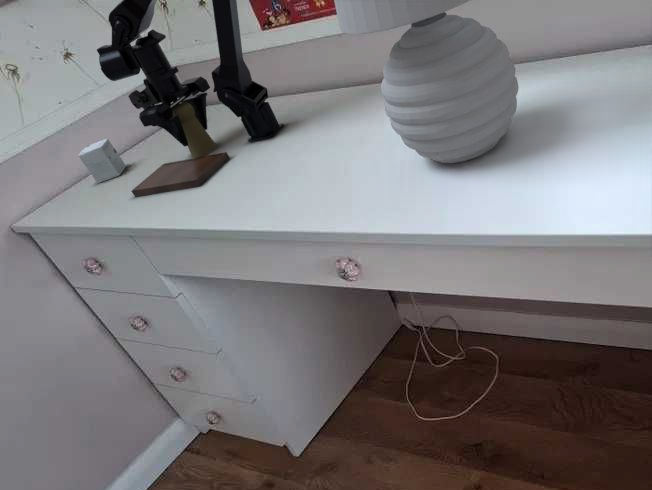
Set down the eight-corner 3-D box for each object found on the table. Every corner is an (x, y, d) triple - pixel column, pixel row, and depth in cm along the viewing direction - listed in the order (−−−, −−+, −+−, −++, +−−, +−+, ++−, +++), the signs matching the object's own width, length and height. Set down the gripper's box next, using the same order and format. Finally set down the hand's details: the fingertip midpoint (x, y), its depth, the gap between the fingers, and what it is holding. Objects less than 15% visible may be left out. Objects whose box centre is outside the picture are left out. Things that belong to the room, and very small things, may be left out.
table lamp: (366, 177, 111) (252, -95, 86) (463, 109, 122) (387, -149, 97) (471, 196, 94) (369, -133, 69) (572, 115, 105) (515, -193, 80)
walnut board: (230, 158, 140) (226, 151, 139) (200, 186, 132) (195, 179, 131) (167, 169, 147) (163, 163, 146) (135, 197, 138) (130, 190, 137)
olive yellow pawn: (208, 154, 146) (181, 107, 139) (187, 159, 148) (159, 113, 141) (221, 142, 150) (195, 96, 143) (200, 147, 152) (173, 102, 145)
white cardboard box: (120, 175, 154) (100, 146, 149) (96, 184, 154) (76, 155, 149) (126, 165, 158) (108, 137, 154) (104, 174, 159) (84, 146, 154)
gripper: (154, 59, 147) (191, 124, 156) (101, 93, 134) (145, 162, 144) (192, 49, 143) (227, 117, 152) (141, 83, 130) (183, 155, 140)
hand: (196, 137), depth 147 cm, fingers closed on olive yellow pawn, 8 cm apart
